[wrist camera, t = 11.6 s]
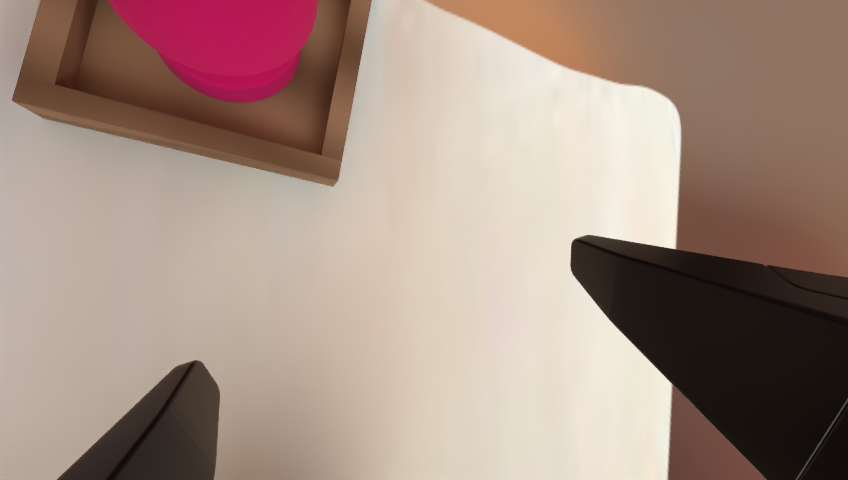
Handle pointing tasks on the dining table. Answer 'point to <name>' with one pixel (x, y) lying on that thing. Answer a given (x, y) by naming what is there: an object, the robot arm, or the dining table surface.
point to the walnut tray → (186, 107)
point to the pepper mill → (225, 41)
